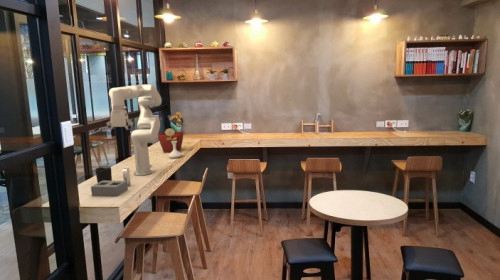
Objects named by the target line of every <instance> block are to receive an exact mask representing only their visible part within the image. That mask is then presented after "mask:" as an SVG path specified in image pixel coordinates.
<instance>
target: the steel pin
mask: <svg viewBox="0 0 500 280" xmlns="http://www.w3.org/2000/svg"><path fill="white" fill-rule="evenodd" d="M121 170H122V171H121V172H122V178H123V180H122V181H127V187H128V186H129V187H131V184H132V181H131V174H130V168H128V167H124V168H122V169H121ZM129 187H128V188H129Z"/></svg>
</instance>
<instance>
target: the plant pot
mask: <svg viewBox="0 0 500 280" xmlns="http://www.w3.org/2000/svg"><path fill="white" fill-rule="evenodd" d="M176 137H177V138H176ZM167 138H171V139H170V140H166V139H167ZM174 138H176V139H175V140H173V139H174ZM183 138H184V131H175V133H174V135H171V137H170V136H169V135H168V136H167V135H166V134H165V131H164V132H161V133H158V136H157V139H158V140H159V145H160V147H161V150H162V152H163V153H171V152H172V151H173V144H172V142H171V141H177V142H176V150H177V151H179V152H180V151H181V149H182V145H183V142H184V141H183Z"/></svg>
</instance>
